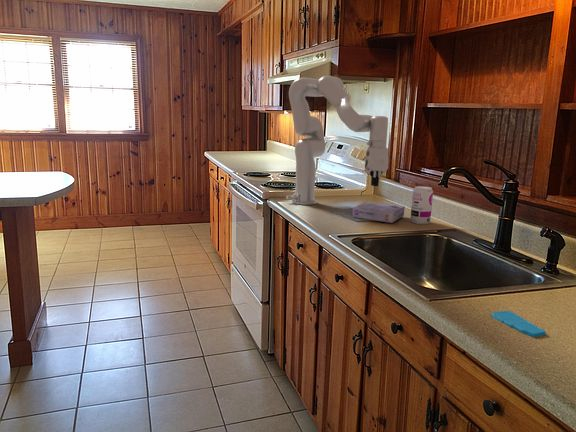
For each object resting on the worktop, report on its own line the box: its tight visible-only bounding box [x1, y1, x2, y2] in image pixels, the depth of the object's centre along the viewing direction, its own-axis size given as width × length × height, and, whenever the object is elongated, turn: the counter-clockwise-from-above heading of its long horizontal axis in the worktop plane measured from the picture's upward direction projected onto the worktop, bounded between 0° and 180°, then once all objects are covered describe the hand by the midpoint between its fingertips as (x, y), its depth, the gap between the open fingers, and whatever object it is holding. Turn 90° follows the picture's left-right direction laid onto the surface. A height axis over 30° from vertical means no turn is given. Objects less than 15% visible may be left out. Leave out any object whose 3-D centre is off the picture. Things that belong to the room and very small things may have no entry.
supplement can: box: [409, 185, 434, 225], centre depth 205 cm, size 8×8×15 cm
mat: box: [330, 208, 376, 223], centre depth 216 cm, size 18×22×1 cm
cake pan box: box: [352, 201, 405, 224], centre depth 212 cm, size 19×5×18 cm
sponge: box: [490, 310, 547, 338], centre depth 109 cm, size 2×12×6 cm
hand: (374, 185), depth 216 cm, fingers closed
